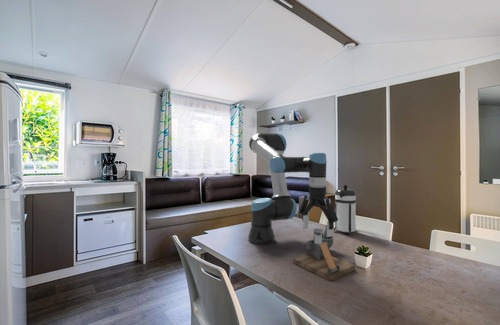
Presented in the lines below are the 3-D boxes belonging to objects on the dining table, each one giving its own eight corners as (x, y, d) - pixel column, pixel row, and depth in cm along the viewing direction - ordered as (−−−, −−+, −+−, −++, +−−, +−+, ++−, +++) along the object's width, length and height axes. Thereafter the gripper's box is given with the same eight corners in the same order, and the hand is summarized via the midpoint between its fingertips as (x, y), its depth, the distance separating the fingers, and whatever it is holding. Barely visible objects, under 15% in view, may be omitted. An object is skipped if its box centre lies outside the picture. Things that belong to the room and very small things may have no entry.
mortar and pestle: (326, 255, 116) (326, 230, 116) (309, 249, 123) (309, 226, 122) (337, 249, 123) (338, 226, 123) (321, 244, 130) (321, 222, 130)
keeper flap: (318, 244, 98) (320, 243, 97) (324, 242, 100) (326, 241, 99) (329, 273, 93) (332, 272, 93) (336, 270, 96) (338, 270, 95)
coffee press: (364, 235, 145) (364, 186, 145) (337, 235, 145) (337, 186, 145) (352, 227, 163) (352, 183, 162) (328, 227, 163) (328, 183, 162)
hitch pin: (317, 257, 113) (317, 227, 113) (324, 260, 110) (324, 230, 110) (311, 259, 111) (311, 229, 111) (318, 262, 107) (318, 231, 107)
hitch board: (293, 262, 107) (293, 244, 107) (316, 254, 117) (316, 238, 117) (331, 281, 91) (331, 260, 91) (355, 270, 100) (355, 251, 100)
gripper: (292, 184, 118) (291, 227, 119) (336, 190, 98) (335, 241, 99) (302, 183, 123) (302, 224, 123) (346, 188, 102) (346, 238, 103)
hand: (316, 232), depth 111 cm, fingers open, 13 cm apart
